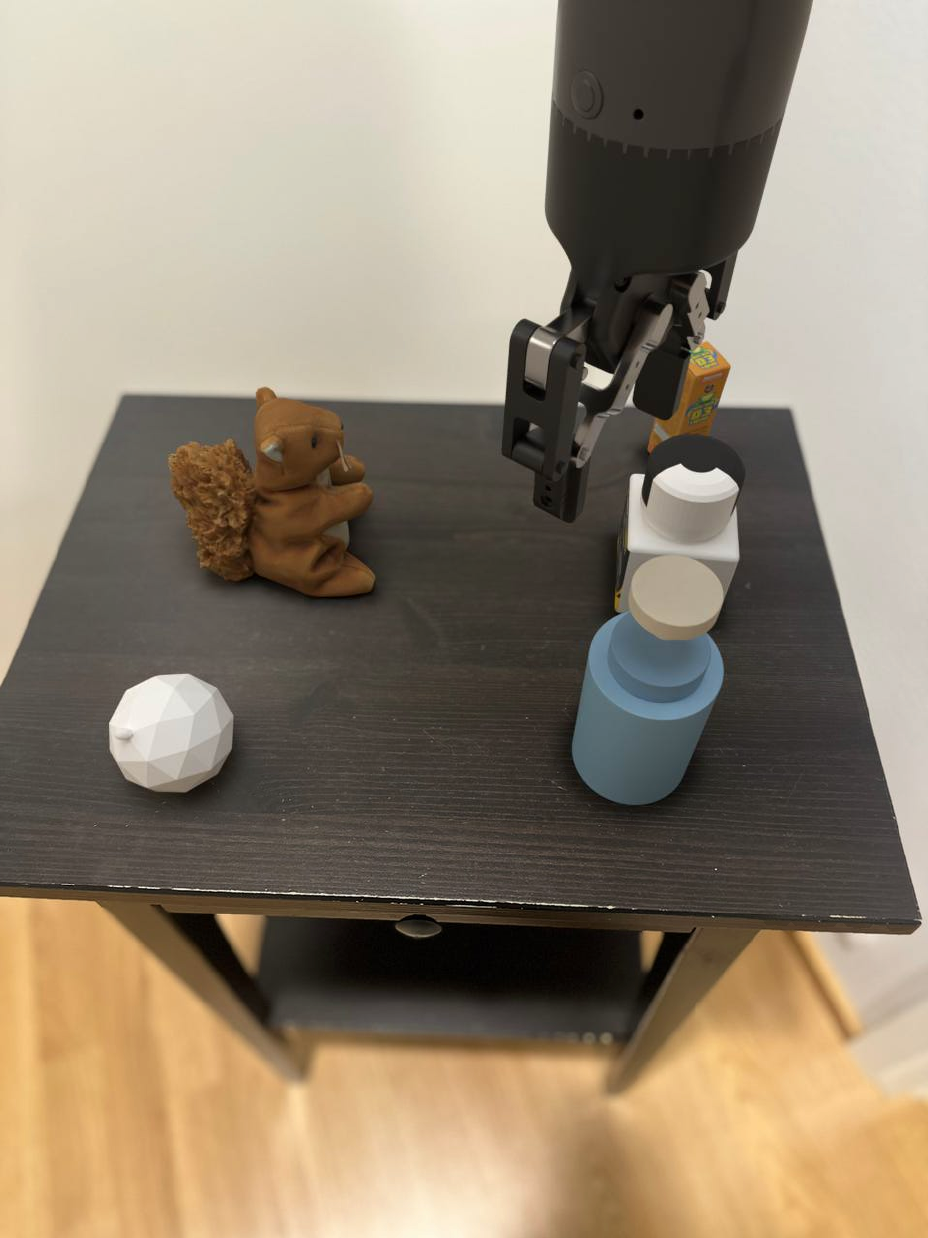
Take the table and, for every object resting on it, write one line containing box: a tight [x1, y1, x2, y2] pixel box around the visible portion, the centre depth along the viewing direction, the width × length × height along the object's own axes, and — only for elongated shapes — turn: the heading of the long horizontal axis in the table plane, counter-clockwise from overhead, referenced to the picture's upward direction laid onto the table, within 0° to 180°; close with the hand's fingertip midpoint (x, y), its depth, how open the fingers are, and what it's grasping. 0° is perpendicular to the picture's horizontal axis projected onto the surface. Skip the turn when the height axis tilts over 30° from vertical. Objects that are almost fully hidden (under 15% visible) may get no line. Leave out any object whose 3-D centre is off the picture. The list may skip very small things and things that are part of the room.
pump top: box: [628, 555, 725, 641], centre depth 43 cm, size 4×4×3 cm
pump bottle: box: [571, 611, 725, 806], centre depth 50 cm, size 7×7×12 cm
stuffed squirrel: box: [167, 386, 376, 598], centre depth 60 cm, size 10×14×13 cm
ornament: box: [108, 673, 234, 793], centre depth 52 cm, size 7×7×8 cm
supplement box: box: [647, 341, 732, 454], centre depth 67 cm, size 3×3×10 cm
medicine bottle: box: [614, 434, 746, 614], centre depth 58 cm, size 7×7×12 cm
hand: (608, 458), depth 41 cm, fingers open, 8 cm apart
